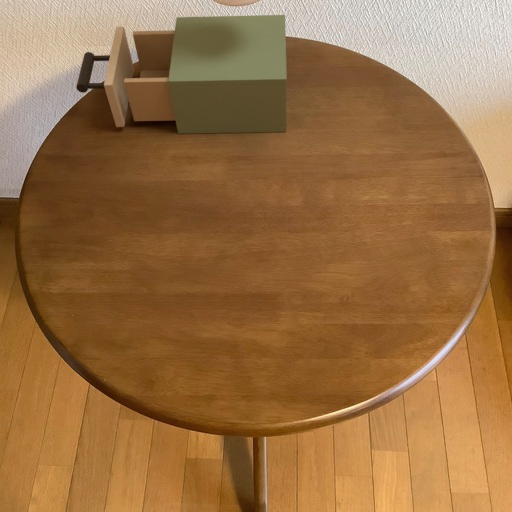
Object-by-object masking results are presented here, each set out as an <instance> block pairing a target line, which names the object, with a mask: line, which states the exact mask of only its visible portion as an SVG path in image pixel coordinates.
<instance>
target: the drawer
mask: <svg viewBox="0 0 512 512" xmlns="http://www.w3.org/2000/svg"><path fill="white" fill-rule="evenodd" d="M126 33H127V32H126V29H125V26H115V30H114V36H113V40H112V44H111V48H110V54H108V55H107V54H105V55H102V54H101V55H96V54H94V53H93V52H91V51H87V52H85V53H84V54H83V58H82V61H81V66H80V70H79V74H78V78H77V82H76V86H75V87H76V90H77V91H78V92H80V93H82V94H83V93H84V94H85V93H87V92H88V91H89V90H103V89H104V90H105V94H106V97H107V101H108V103H109V108H110V111H111V114H112V118H113V121H114V124H115V127H116V128H124V127H125V125H126V119H127V113H128V109H129V108H128V107H130V111H131V115H132V119H133V121H134V122H163V121H164V122H166V121H167V122H169V121H170V122H171V121H173V122H174V121H176V120H175V115H174V109H173V104H172V99H171V93H170V88H169V82H168V80H169V72H170V64H171V56H172V48H173V41H174V33H175V29H174V30H173V29H172V30H170V29H169V30H133V31H132V37H133V42H134V47H135V50H136V51H135V52H136V56H137V60H138V64H139V68H140V74H139V77H134V73H135V67H134V62H133V58H132V55H131V50H130V46H129V42H128V37H127V34H126ZM95 62H107V63H108V64H107V69H106V72H105V73H106V74H105V78H104V82H90V81H91V77H92V73H93V69H94V65H95Z"/></svg>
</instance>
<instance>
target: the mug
mask: <svg viewBox="0 0 512 512" xmlns="http://www.w3.org/2000/svg"><path fill="white" fill-rule="evenodd" d="M260 1H261V0H212V2H214V3H217V4H219V5H223V6H226V7H227V6H228V7H245V6H249V5H253V4H255V3H258V2H260Z"/></svg>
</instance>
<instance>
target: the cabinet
mask: <svg viewBox="0 0 512 512" xmlns="http://www.w3.org/2000/svg"><path fill="white" fill-rule="evenodd" d="M174 30H175V33H174V41H173V48H172V56H171V64H170V72H169V80H168V82H169V88H170V93H171V99H172V104H173V109H174V115H175V120H174V121H175V125H176V130H177V134H178V135H181V134H182V135H184V134H185V135H187V134H190V135H191V134H238V133H239V134H241V133H243V134H244V133H245V134H246V133H247V134H249V133H250V134H251V133H286V132H287V105H288V104H287V101H288V100H287V99H288V98H287V96H288V95H287V92H288V91H287V89H288V87H287V85H288V76H287V75H288V73H287V41H286V40H287V38H286V37H287V36H286V15H285V14H266V15H265V14H263V15H261V14H260V15H219V16H218V15H217V16H214V15H213V16H176V18H175V25H174Z"/></svg>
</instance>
